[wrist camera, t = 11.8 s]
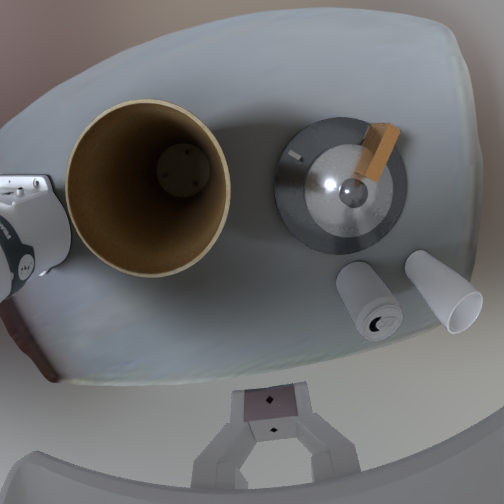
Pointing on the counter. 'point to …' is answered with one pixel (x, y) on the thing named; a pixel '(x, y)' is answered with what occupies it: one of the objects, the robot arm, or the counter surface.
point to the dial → (352, 183)
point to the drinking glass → (444, 291)
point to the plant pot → (148, 188)
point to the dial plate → (292, 177)
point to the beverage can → (368, 301)
